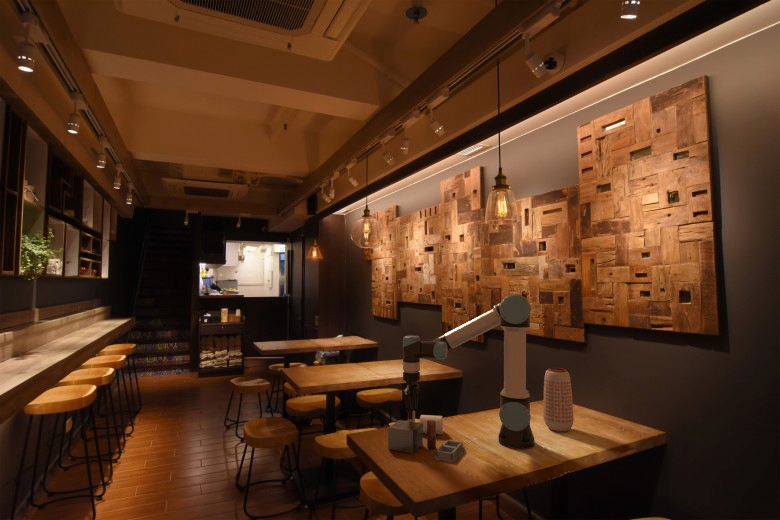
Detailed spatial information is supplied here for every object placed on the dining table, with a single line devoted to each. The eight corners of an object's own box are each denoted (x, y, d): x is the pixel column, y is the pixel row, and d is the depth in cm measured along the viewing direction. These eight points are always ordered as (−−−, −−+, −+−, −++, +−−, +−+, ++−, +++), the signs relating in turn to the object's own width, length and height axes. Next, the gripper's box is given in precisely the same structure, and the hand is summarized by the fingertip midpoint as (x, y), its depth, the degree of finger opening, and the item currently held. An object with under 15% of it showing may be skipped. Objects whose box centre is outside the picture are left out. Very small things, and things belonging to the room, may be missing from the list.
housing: (423, 444, 181) (423, 423, 182) (412, 453, 171) (412, 431, 172) (399, 440, 186) (399, 419, 187) (388, 448, 176) (388, 427, 177)
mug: (441, 437, 191) (441, 419, 192) (419, 435, 193) (419, 417, 194) (443, 428, 203) (443, 411, 203) (422, 427, 205) (422, 410, 205)
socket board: (464, 449, 176) (464, 442, 176) (453, 462, 163) (453, 454, 163) (446, 446, 180) (446, 439, 180) (433, 459, 166) (433, 451, 167)
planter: (543, 431, 198) (541, 370, 200) (544, 423, 210) (542, 366, 212) (574, 435, 193) (572, 372, 195) (573, 426, 205) (571, 367, 207)
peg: (437, 447, 179) (436, 420, 180) (434, 450, 176) (433, 423, 176) (429, 445, 180) (428, 419, 181) (425, 448, 177) (425, 421, 178)
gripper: (409, 368, 194) (409, 420, 192) (397, 373, 182) (397, 429, 181) (424, 369, 191) (425, 422, 189) (413, 374, 179) (413, 431, 177)
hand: (411, 425), depth 185 cm, fingers closed
